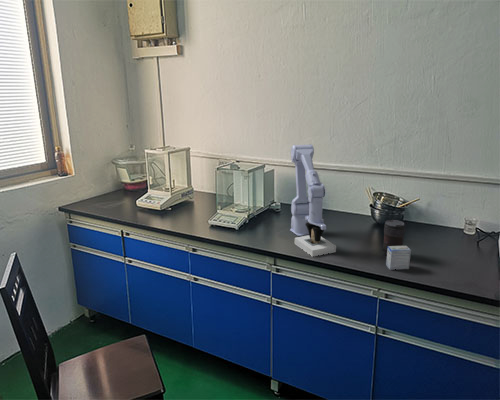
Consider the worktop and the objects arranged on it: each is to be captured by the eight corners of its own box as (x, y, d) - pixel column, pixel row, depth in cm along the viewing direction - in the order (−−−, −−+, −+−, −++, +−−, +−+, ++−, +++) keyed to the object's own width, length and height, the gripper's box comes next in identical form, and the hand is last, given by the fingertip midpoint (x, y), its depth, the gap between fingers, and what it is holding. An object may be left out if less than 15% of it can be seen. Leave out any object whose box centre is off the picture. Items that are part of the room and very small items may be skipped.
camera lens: (378, 253, 176) (380, 221, 172) (393, 250, 179) (396, 218, 175) (390, 260, 169) (393, 227, 165) (405, 257, 172) (409, 224, 167)
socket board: (294, 243, 188) (294, 237, 187) (316, 239, 192) (316, 233, 191) (312, 256, 174) (312, 249, 173) (335, 252, 178) (336, 245, 177)
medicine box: (404, 264, 165) (406, 245, 163) (409, 269, 161) (411, 249, 158) (385, 265, 165) (387, 245, 162) (389, 270, 161) (391, 250, 158)
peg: (309, 243, 184) (309, 228, 182) (316, 241, 185) (317, 227, 183) (314, 246, 180) (315, 231, 178) (321, 244, 182) (322, 230, 180)
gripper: (332, 214, 173) (331, 243, 177) (314, 205, 186) (314, 232, 190) (318, 217, 171) (317, 246, 174) (301, 207, 183) (300, 235, 187)
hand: (314, 239), depth 182 cm, fingers closed on peg, 4 cm apart
